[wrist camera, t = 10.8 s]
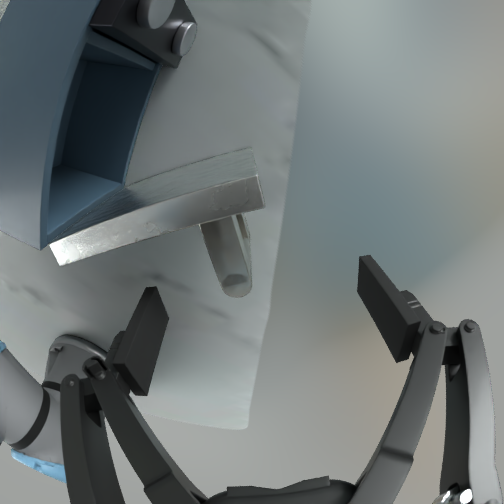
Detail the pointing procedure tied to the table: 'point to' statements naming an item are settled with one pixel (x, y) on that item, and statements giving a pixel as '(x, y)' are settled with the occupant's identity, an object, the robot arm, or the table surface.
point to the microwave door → (179, 215)
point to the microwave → (76, 102)
